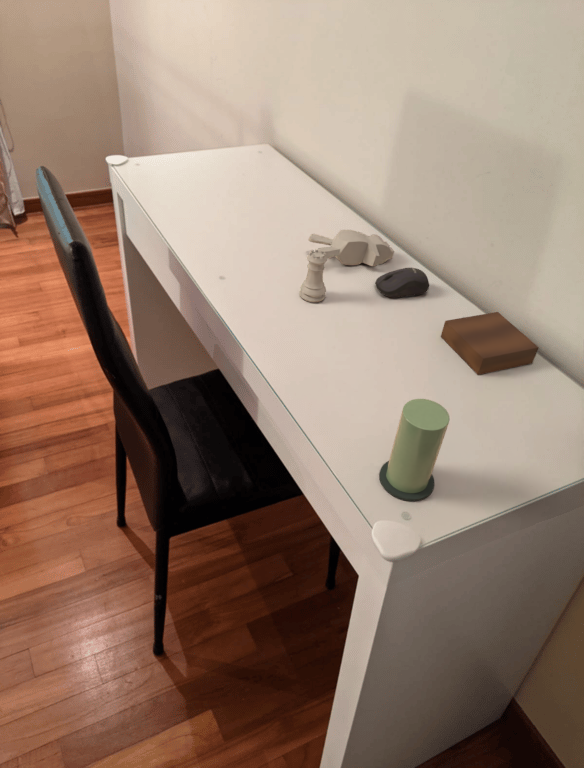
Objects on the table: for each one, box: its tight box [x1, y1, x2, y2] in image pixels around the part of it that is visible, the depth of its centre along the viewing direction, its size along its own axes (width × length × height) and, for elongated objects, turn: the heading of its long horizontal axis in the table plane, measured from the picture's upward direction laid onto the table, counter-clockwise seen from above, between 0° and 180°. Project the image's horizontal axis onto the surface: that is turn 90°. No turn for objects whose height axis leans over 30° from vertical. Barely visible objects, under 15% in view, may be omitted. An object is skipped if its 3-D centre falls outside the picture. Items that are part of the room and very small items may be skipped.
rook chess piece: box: [299, 248, 328, 304], centre depth 99 cm, size 4×4×8 cm
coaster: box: [378, 460, 435, 502], centre depth 71 cm, size 6×6×1 cm
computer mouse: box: [374, 267, 430, 299], centre depth 104 cm, size 6×9×4 cm, turn 105°
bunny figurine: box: [308, 229, 395, 267], centre depth 111 cm, size 10×5×15 cm
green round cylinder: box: [386, 398, 451, 493], centre depth 68 cm, size 5×5×10 cm
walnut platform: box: [440, 311, 540, 376], centre depth 93 cm, size 10×10×3 cm
